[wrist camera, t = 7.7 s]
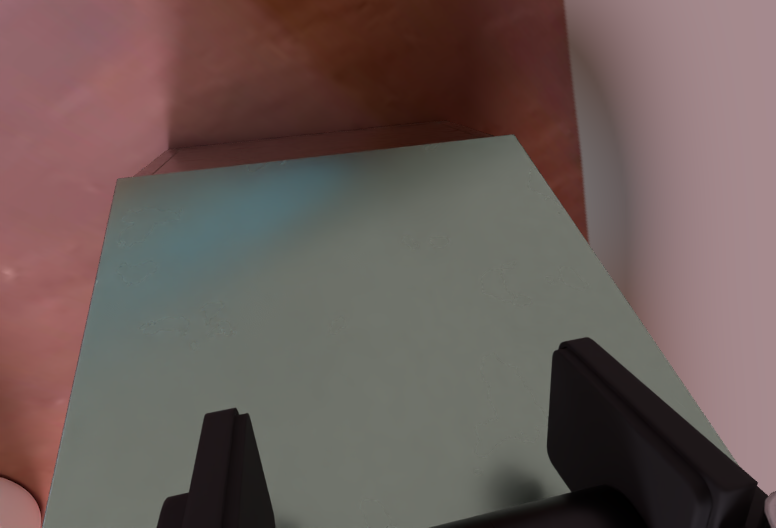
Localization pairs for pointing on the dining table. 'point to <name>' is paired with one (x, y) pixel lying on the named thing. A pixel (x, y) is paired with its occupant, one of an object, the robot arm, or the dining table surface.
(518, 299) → the box lid
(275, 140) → the open box
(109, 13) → the dining table surface
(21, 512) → the cup
